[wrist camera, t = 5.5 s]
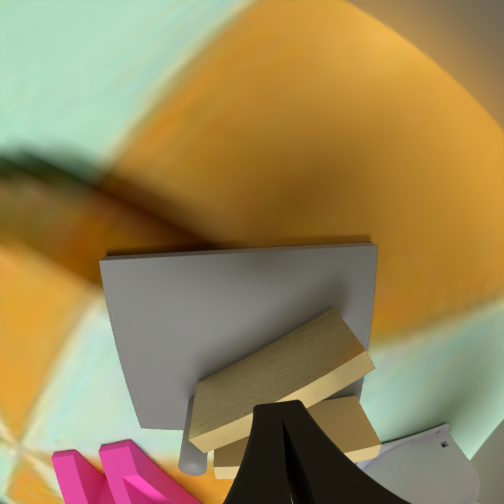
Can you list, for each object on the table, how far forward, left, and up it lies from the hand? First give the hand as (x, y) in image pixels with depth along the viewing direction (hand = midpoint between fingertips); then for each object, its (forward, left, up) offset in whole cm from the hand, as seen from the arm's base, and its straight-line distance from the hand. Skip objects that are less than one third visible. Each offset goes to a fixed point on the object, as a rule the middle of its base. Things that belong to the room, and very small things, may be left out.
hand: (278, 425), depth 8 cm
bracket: (+12, +19, -10) cm, 25 cm away
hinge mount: (+1, +3, -9) cm, 10 cm away
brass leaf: (-1, +3, -8) cm, 9 cm away
